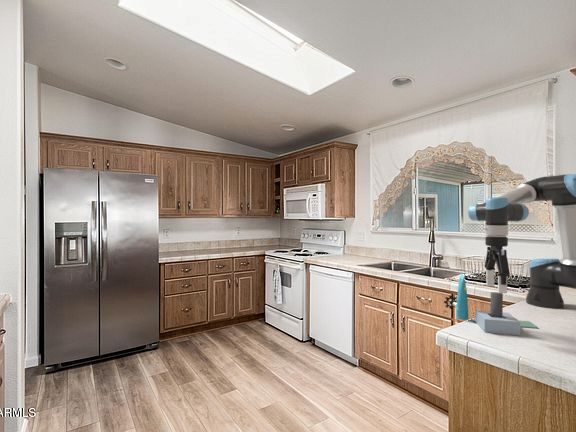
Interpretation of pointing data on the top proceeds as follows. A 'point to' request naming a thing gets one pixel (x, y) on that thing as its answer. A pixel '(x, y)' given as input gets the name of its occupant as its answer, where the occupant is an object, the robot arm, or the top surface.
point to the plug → (496, 305)
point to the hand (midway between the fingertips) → (496, 289)
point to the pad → (527, 324)
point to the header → (497, 323)
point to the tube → (462, 300)
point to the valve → (451, 302)
